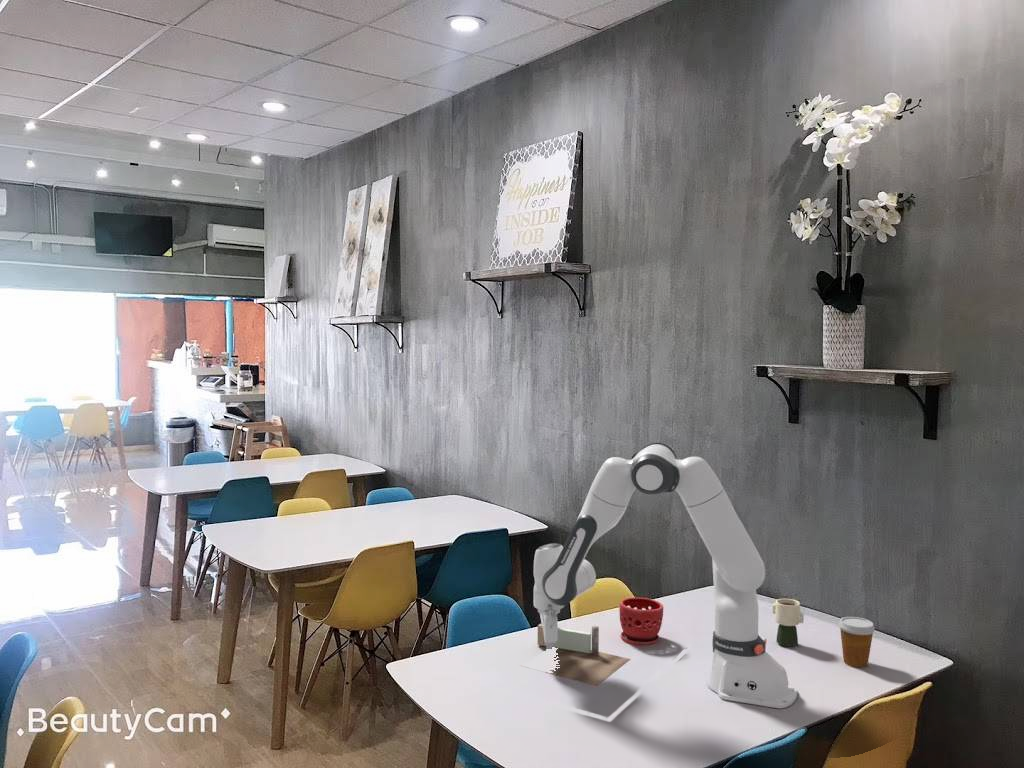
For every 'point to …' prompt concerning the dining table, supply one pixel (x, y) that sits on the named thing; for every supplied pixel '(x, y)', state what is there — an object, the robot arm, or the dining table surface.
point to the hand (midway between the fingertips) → (548, 647)
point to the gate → (568, 640)
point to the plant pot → (640, 620)
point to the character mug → (787, 620)
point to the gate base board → (588, 663)
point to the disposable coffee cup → (856, 640)
